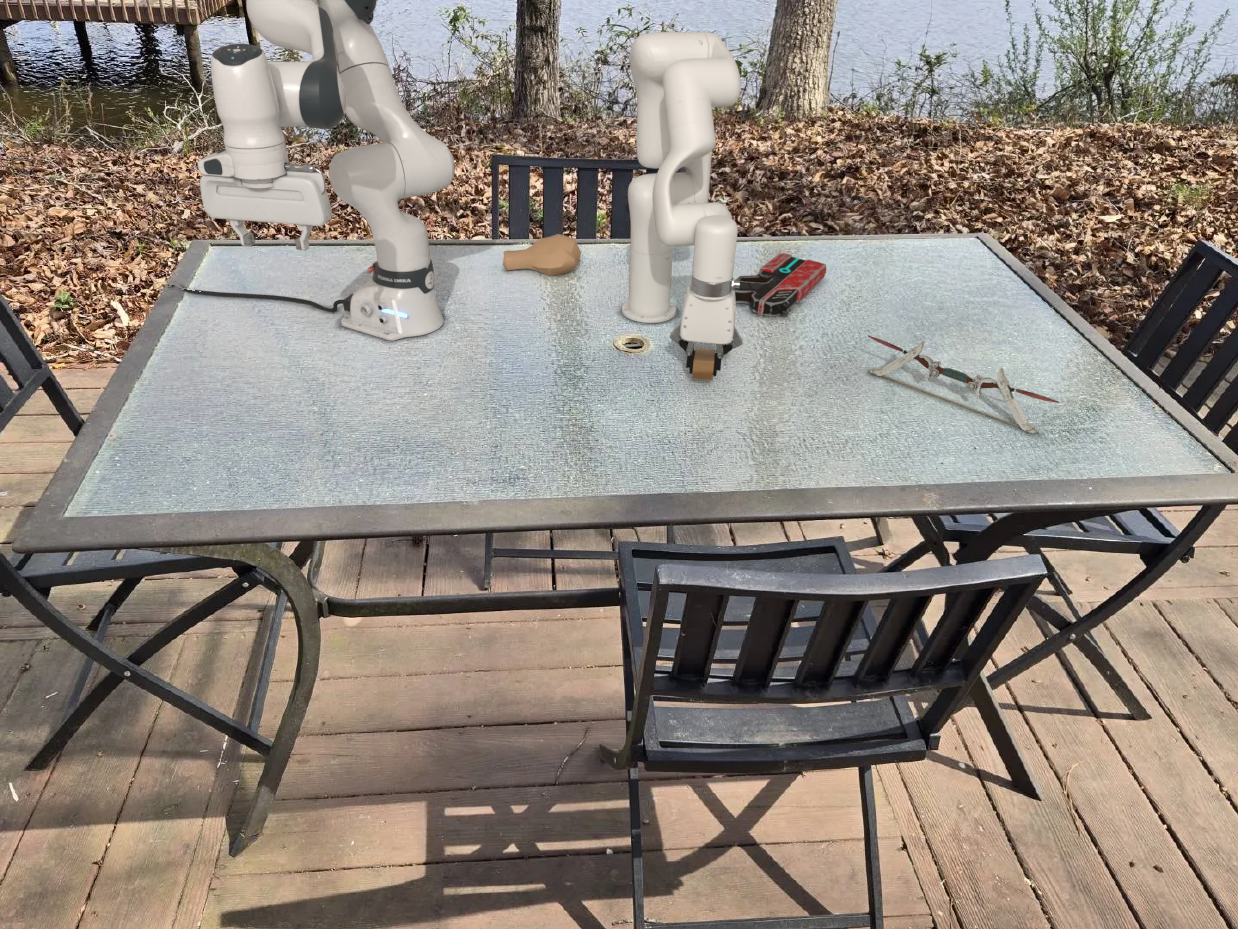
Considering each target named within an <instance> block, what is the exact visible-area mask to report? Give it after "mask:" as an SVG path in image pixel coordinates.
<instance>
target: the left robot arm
mask: <svg viewBox="0 0 1238 929" xmlns="http://www.w3.org/2000/svg"><path fill="white" fill-rule="evenodd" d="M377 1H378V0H246V12H247V16H248V19H249V21H250V23H251V25H252V27H253V28H254V30H255V31H256V32H257V33H258V34H259V35H260V36H261V37H262V38H263V39H265V40H266V41H267V42H268V43H270V44H272V45H274V46H276V47H278V48H282V49H287V50H294V51H298V52H303V53H307V54H310V55H311V56H312V59H309V60H303V61H268V59H267V56H266V54H265V52H264V50H263V49H262V48H261V47H259V46H257V45H253V44H251V43H230V44H227V45H222V46H220V47H218V48H217V49H215V50H214V51H213V52H212V53H211V56H210V72H211V73H210V74H211V83H212V91H213V97H214V103H215V107H216V112H217V115H218V118H219V119H220V121H221V124H222V127H223V144H224V148H223V149H221V150H218V151H216V152H213V153H211V154H208V155H207V156H204V157H203V158H201V159H200V160H198V161H197V168H198V171H199V173H200V174H202V176H201V178H200V181H199V189H200V195H201V201H202V206H203V209H204V212H205V213H206V214H207V215H208V216H209V217H210V218H211V219H218V220H220V219H221V220H228V221H229V225H230V227H231V229H233V231H234V233H236V234H237V235H238V237H239V239H240V244H241V246H242V247H252V246H254V245H255V244H256V240H255V235H254V232H249V231H248V230H247V228H246V226H245V225H244V223H245V221H247V222H256V223H257V222H259V223H261V222H262V223H269V224H271V223H272V224H286V225H297V227H298V231H300V232H301V235H300V236H298V237H297V238H295V239H294V245H295V249H296V251H303V252H307V251H308V250H309V249H310V242H309V237H310V235H311V232H312V230H313V228H314V227H323V226H324V225H326V224H327V223H328V222H329V221H330V220H331V219H332V217H333V209H332V205H331V201H330V198H329V194H328V191H327V182H326V176H325V174H324V173H323V172H322V171H321V170H320V169H319V168H317V167H315V165H313V164H308V163H307V164H299V163H292V162H290V160H289V154H288V148H287V143H286V138H285V135H284V133H283V130H282V128H311V129H319V130H332V129H334V128H335V127H336V126H337V125H338V124H340V122H342V120H343V119H344V118H345V116H346V117H347V119H348V120H349V121H350V122H351V123H352V124H353V125H354V126H355V127H357V128H358V129H361V130H364V131H366V132H369V133H371V134H372V135H374V136H375V137H376V138H377V139H379V140H380V141H381V143H373V144H366V145H357V146H355V147H351V148H348V149H346V150H342V151H341V152H338V153H335V154H334V155H333V157H332V159H331V161H330V163H329V168H328V179H329V183H330V186H331V188H332V190H333V192H334V193H335V195H336V196H337V197H338V198H339V199H340V200H341V201H342V202H344V203H346V204H347V205H349V206H351V207H353V208H354V209H355V210H356V211H358V212H359V213H360V214H361V215H362V216H363V218H364V220H366V222H367V224H368V226H369V228H370V230H371V234H372V238H373V239H372V240H373V243H374V248H375V253H376V254H375V255H376V261H374V262H373V263H372V265H371V266H369V267H368V268H367V274H370V273H372V277H371V278H370V279H369V280H367V282H365V283H364V284H363V285H362V286H360V287H359V288H358V289H356V290H355V292H354V293H351V294H349V295H347V297H345V298H343V299H336V300H335V301H334V302H333V304H332V307H331V308H328V307H326V306H323V305H321V304H319V303H317V302H315V301H312V300H308V299H304V298H298V297H290V296H285V295H275V294H262V293H261V294H260V293H259V294H258V293H245V292H244V293H242V292H226V291H225V292H223V291H211V290H199V289H195V291H192V290H187V289H184V290H183V292H185V293H188V294H189V293H190V294H193V295H194V294H195V295H200V296H201V295H203V296H214V297H223V298H224V297H225V298H243V299H259V300H260V299H262V300H274V301H276V300H277V301H284V302H292V303H298V304H304V305H308V306H312V307H314V308H316V309H319V310H322V311H324V312H328V313H335V312H337V311H338V306H339V305H343V311H344V312H346V313H344V314H343V316H342V317H341V320H340V324H341V326H342V327H344V328H347V329H350V330H354V331H357V332H360V333H364V334H367V335H370V336H373V337H377V338H380V339H383V340H387V341H396V340H397V341H398V340H401V339H404V338H412V337H420V336H423V335H427V334H430V333H431V334H432V333H434V332H436V331H437V330H439V329H441V327H442V326H443V325H444V323H445V320H444V317H443V314H442V312H441V310H440V307H439V303H438V300H437V296H436V290H435V271H434V264H433V260H432V259H431V253H430V243H429V232H428V229H427V226H426V225H425V223H424V222H423V221H422V220H421V219H420V218H419V217H417V216H415V215H412V214H409V213H407V212H404V211H400V207H399V201H400V200H402V199H409V198H413V197H420V196H426V195H431V194H433V193H436V192H439V191H441V190H443V189H445V188H447V187H449V186H450V185H451V184H452V181H453V179H454V177H455V174H456V173H455V172H456V163H455V159H454V155H453V154H452V152H451V150H450V149H449V147H448V146H447V145H446V143H444V142H443V141H442V140H440V139H438V138H435V137H434V136H432V135H431V134H429V133H428V132H427V131H425V130H424V129H423V128H422V127H421V126H420V125H419V124H417V123H416V121H415V120H414V119H413V117H412V116H411V115H410V113H409V112H408V111H407V109H406V108H405V105H404V103H403V101H402V98H401V96H400V93H399V91H398V88H397V85H396V82H395V80H394V76H393V74H392V71H391V67H390V64H389V61H388V59H387V56H386V54H385V51H384V49H383V45H382V43H381V42H380V40H379V38H378V36H377V34H376V32H375V30H374V28H373V26H372V25H371V23H372V22H373V20H374V15H375V13H374V11H375V9H376V8H377V7H376V6H377ZM167 286H169V283H168V284H167ZM199 291H201V292H199Z"/></svg>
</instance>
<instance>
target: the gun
mask: <svg viewBox="0 0 1238 929" xmlns="http://www.w3.org/2000/svg"><path fill="white" fill-rule="evenodd" d="M826 273H827V264H826V263H823V262H820V261H816V260H812V259H802V258H799V257H795V256H793V255H792V254H791V253H784V252H780V253H778V254H777V255H775V256H774V257H773V258H771V259H770V260H768V261H767V262H766V263H765V264H763V265H762V266H761V267H760V269H759V271H758V273H757V274H756V275H753V274H752V275H751V274H750V275H740V276H738V277H737V278H734V280H736V281H740V286H739V288H735V289H733V290H734V291H735V299H736V304H750V305H749V308H750V310H751V312H753V313H755V314H757V315H758V316H760V317H761V316H765V317H770V318H771V317H777V316H780V317H784V318H787V317H788V315H789V311H788V310H790V309H791V308H792V307H793V306H794V305H795V304H798V303H799V302H801V301H802V300H803V299H804V298H805V297H807V296H808V295H809V294H810V293H811V292H812V291H813V290H814V289H815V287H817V285H818V284H820V283H821V282H822V280H823V279H824V278H825V276H826Z"/></svg>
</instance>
